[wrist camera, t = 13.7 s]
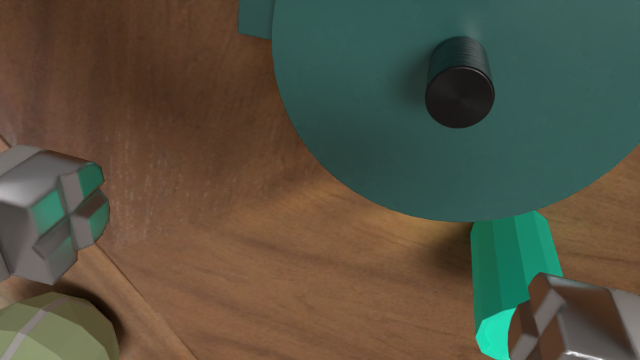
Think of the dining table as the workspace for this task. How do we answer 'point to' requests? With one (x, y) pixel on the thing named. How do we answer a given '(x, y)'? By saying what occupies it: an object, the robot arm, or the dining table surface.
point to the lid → (461, 98)
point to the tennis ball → (56, 330)
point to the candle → (507, 273)
